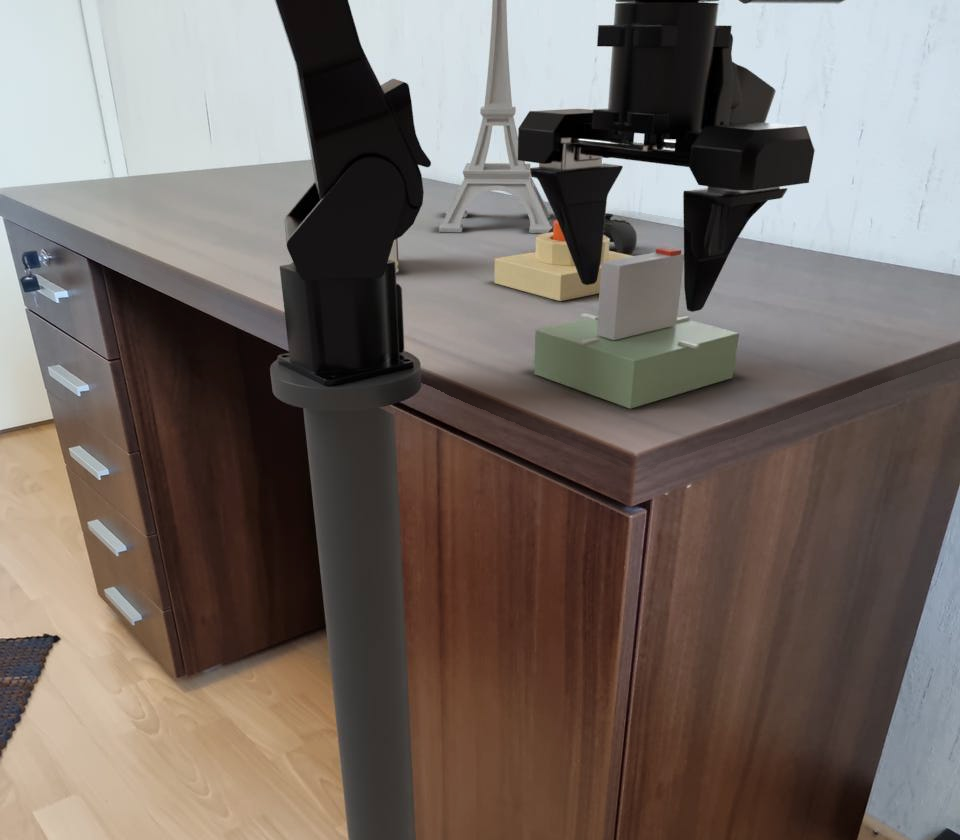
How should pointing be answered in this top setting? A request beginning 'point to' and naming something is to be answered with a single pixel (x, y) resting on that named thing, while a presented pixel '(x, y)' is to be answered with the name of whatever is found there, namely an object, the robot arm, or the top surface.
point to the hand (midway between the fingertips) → (639, 296)
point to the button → (557, 232)
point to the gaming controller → (619, 234)
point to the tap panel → (635, 360)
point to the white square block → (639, 293)
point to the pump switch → (549, 270)
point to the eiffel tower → (501, 113)
